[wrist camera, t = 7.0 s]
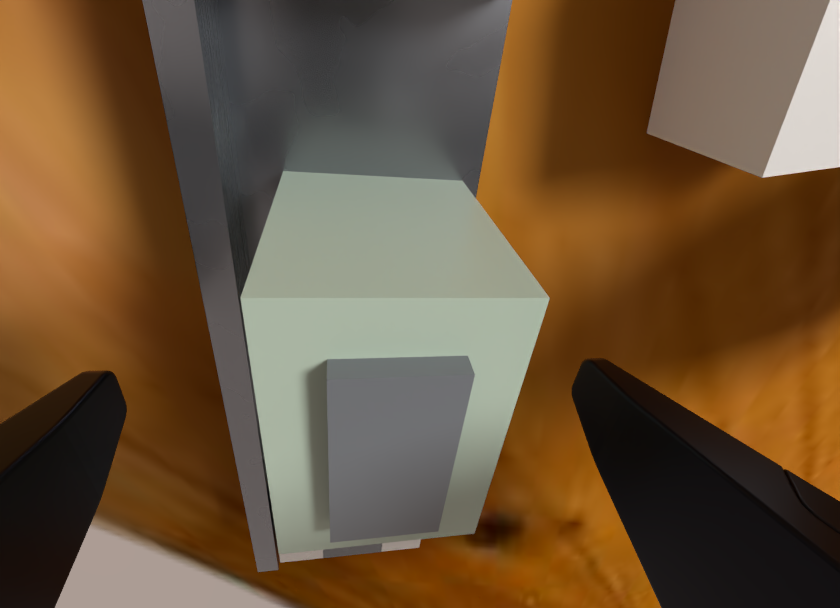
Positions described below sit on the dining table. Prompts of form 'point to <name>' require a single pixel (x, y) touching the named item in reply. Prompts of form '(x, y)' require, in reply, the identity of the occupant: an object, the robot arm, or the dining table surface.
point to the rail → (308, 144)
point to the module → (383, 356)
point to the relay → (753, 84)
